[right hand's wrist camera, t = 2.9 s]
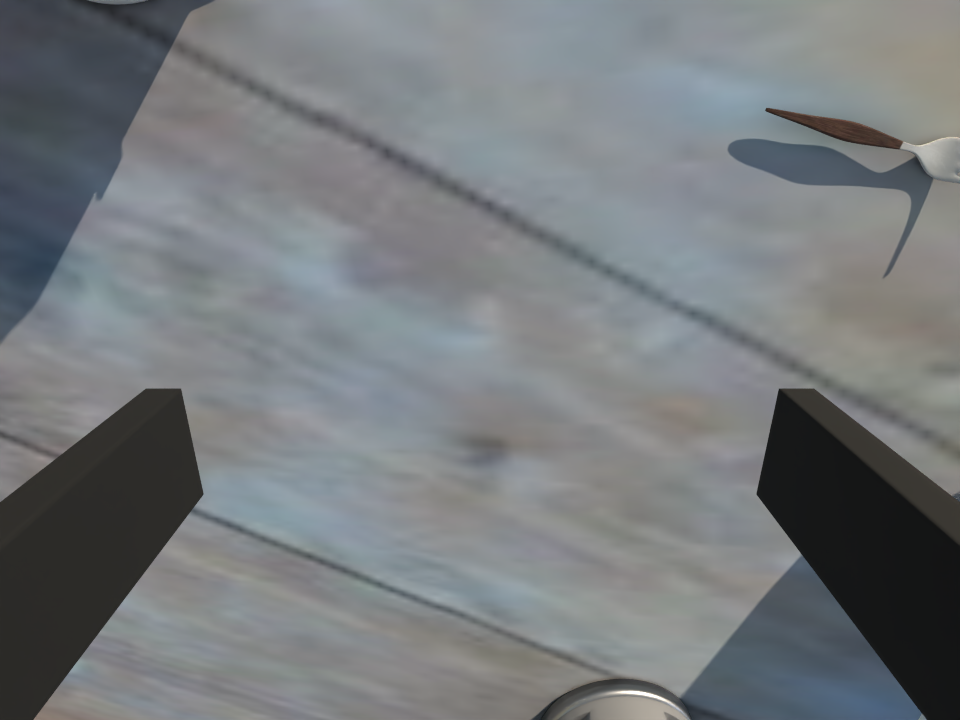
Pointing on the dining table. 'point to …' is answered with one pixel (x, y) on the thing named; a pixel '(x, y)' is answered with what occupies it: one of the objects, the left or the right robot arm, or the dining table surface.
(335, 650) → the dining table surface
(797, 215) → the dining table surface
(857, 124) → the fork
